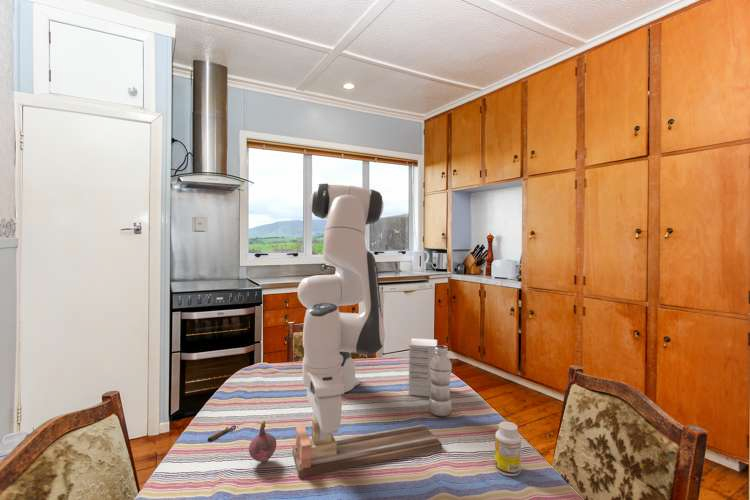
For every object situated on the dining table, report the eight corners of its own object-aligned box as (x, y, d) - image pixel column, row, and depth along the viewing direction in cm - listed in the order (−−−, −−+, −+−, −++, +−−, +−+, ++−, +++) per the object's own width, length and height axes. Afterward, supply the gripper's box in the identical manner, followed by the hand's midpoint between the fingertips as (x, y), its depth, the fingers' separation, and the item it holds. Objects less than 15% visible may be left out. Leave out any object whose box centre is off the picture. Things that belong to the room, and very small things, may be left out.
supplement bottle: (500, 459, 91) (501, 417, 90) (524, 469, 87) (525, 424, 87) (490, 470, 86) (491, 425, 86) (515, 480, 83) (516, 434, 82)
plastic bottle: (451, 420, 110) (452, 351, 109) (427, 417, 111) (428, 349, 111) (451, 410, 116) (452, 345, 115) (429, 408, 118) (430, 343, 117)
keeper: (306, 449, 91) (306, 416, 91) (331, 445, 93) (331, 412, 93) (310, 461, 86) (310, 425, 86) (336, 456, 88) (336, 421, 88)
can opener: (210, 442, 97) (210, 438, 97) (204, 440, 98) (204, 435, 98) (240, 428, 104) (240, 424, 104) (235, 426, 106) (235, 422, 106)
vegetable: (250, 473, 84) (250, 429, 84) (247, 458, 90) (247, 416, 89) (278, 467, 86) (278, 424, 86) (274, 453, 92) (274, 412, 92)
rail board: (292, 452, 92) (292, 426, 92) (423, 430, 104) (423, 406, 104) (298, 477, 83) (298, 448, 83) (441, 449, 95) (442, 423, 94)
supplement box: (436, 397, 125) (437, 346, 125) (408, 395, 127) (409, 344, 126) (436, 386, 135) (437, 339, 134) (410, 384, 136) (411, 337, 136)
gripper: (301, 362, 98) (300, 415, 98) (316, 393, 78) (316, 459, 79) (325, 359, 100) (325, 412, 100) (346, 389, 80) (346, 454, 81)
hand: (321, 433), depth 89 cm, fingers closed on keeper, 3 cm apart
